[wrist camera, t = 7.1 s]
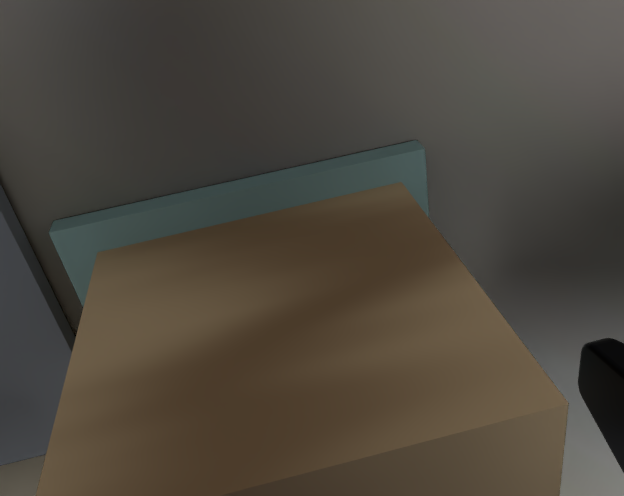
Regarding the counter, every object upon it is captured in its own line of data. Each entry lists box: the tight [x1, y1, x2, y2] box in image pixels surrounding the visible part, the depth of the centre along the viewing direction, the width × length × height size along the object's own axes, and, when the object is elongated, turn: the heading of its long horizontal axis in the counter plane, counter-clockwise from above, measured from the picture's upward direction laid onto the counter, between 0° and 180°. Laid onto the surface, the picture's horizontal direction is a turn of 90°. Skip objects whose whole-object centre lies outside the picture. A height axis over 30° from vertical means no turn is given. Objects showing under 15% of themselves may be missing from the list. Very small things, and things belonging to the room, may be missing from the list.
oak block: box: [36, 182, 569, 496], centre depth 9 cm, size 5×5×5 cm
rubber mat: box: [49, 140, 429, 307], centre depth 11 cm, size 6×6×1 cm
